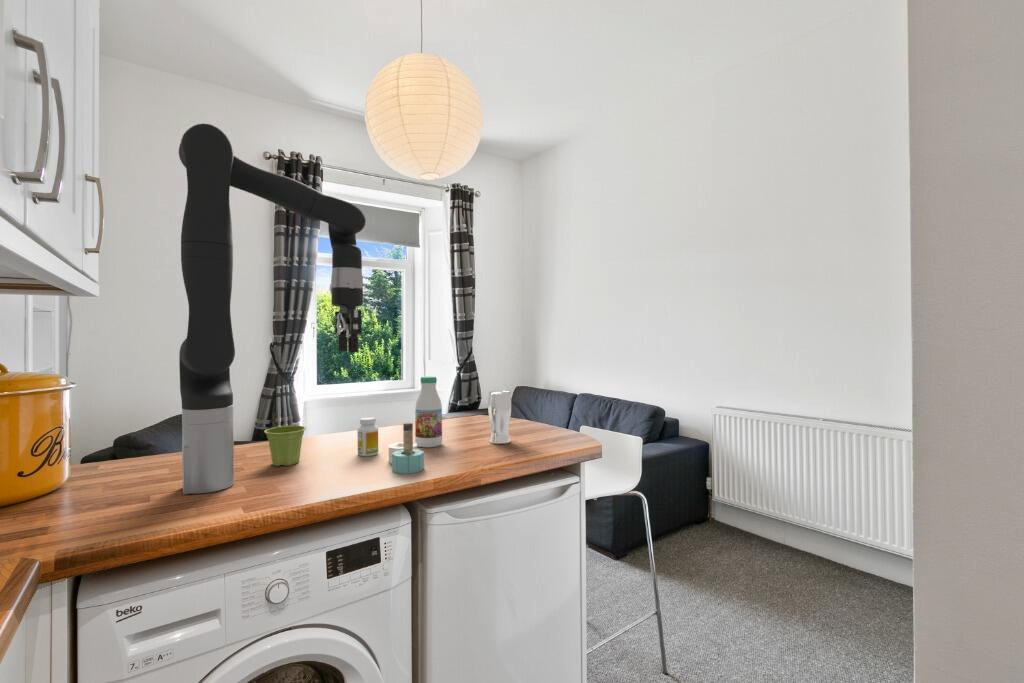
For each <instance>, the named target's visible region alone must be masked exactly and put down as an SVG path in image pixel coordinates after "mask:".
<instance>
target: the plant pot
mask: <svg viewBox="0 0 1024 683" xmlns="http://www.w3.org/2000/svg"><path fill="white" fill-rule="evenodd" d="M305 430H306V426H303V425H282V426H274V427H271V428H267V429H265V430H264V431H263V432H264V434H265V435H266V438H267V439H268V444H269V445H268V446H269V452H270V457H271V462H272V465H273V466H275V467H279V466H286V467H288V466H292V465H296V464H297V463H299V462H300V458H301V449H302V441H303V436H304V433H305Z"/></svg>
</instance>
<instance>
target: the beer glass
mask: <svg viewBox="0 0 1024 683" xmlns="http://www.w3.org/2000/svg"><path fill="white" fill-rule="evenodd" d="M487 403H488V404H487V405H488V406H487V409H488V410H487V411H488V418H489V424H490V437H489V443H490V444H492V445H507V444H510V442H511V438H510V433H509V432H510V430H509V429H510V428H509V427H510V420H511V414H512V395H511V391H506V390H494V391H493V390H492V391H489V392H488V402H487Z"/></svg>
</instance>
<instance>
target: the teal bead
mask: <svg viewBox="0 0 1024 683" xmlns="http://www.w3.org/2000/svg"><path fill="white" fill-rule="evenodd" d="M424 469H425V451H423V450H421V449H418V448H417V449H413V454H409V455H405V454H404V453H403V450H398V451H395V452H394V453H392V464H391V471H393V472H394V473H396V474H414V473H415V474H416V473H419V472H422V470H424Z"/></svg>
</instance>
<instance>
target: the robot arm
mask: <svg viewBox="0 0 1024 683" xmlns="http://www.w3.org/2000/svg"><path fill="white" fill-rule="evenodd" d="M178 147H179V148H178V157H179V160H180V162H181V164H182V165H183V166H184V168H185V170H186V181H187V183H186V184H187V193H186V195H187V196H186V201H185V207H184V212H183V217H182V224H181V235H180V262H181V264H180V265H181V272H182V273H181V274H182V279H183V284H184V289H185V293H186V297H187V298H186V299H187V304H188V320H187V321H188V322H187V332H186V333H187V334H186V338H185V339H184V340H183V341H182V343H181V344H180V348H179V353H178V354H179V356H178V358H179V359H178V360H179V361H178V362H179V364H178V365H179V390H180V391H179V393H180V399H181V425H182V426H181V429H182V430H181V432H182V434H181V436H182V437H181V438H182V439H181V440H182V442H181V446H182V447H181V452H182V453H181V455H182V457H181V458H182V459H181V461H182V462H181V463H182V465H181V466H182V494H183V495H189V494H191V495H192V494H207V493H213V492H217V491H219V492H220V491H222V490H225V489H228V488H231V487H232V486H233V485H234V483H235V458H234V457H235V455H234V453H235V452H234V445H235V444H234V441H235V440H234V394H233V391H232V385H231V373H230V371H231V370H230V368H231V366H232V364H233V362H234V361H235V360H234V359H235V356H236V348H235V340H234V334H233V333H234V332H233V326H232V317H231V314H232V313H231V303H232V302H231V301H232V287H233V271H234V269H233V267H234V250H233V249H234V248H233V247H234V243H233V241H234V240H233V227H232V225H233V223H232V212H231V204H230V191H231V190H230V188H231V187H232V188H235V189H238V190H241V191H244V192H245V193H248V194H250V195H253V196H257V197H259V198H262V199H264V200H266V201H268V202H271V203H273V204H275V205H277V206H280V207H281V208H283V209H286V210H289V211H290V212H292V213H295V214H296V215H299V216H301V217H304V218H305V219H308V220H310V221H314V222H315V221H318V222H320V221H321V222H324V223H326V224H328V226H327V228H328V230H327V231H328V237H329V240H330V241H329V242H330V246H331V250H332V255H331V257H332V258H331V259H332V261H331V262H332V264H331V265H332V266H331V267H332V269H331V278H330V280H331V284H330V285H331V288H330V291H331V294H330V295H331V297H330V298H331V305H332V306H333V307H339V309H338V310H335V311H334V334H335V335H336V336H337V350H338V351H339V352H347V351H348V353H358V351H359V337H360V335H362V333H363V332H362V309H358V307H359V308H360V307H363V305H364V278H363V271H362V270H363V269H362V268H363V267H362V266H363V265H362V264H363V260H362V258H363V256H362V249H361V248H360V247H359V246H357V238H356V234H358V233H359V232H361V231H362V230H364V229H365V226H366V222H367V220H366V217H365V214H364V213H363V211H362V210H361V208H359V207H358V206H357V205H355V204H353V203H350V202H349V201H346V200H343V199H339V198H337V197H334V196H331V195H327V194H325V193H322V192H320V191H319V190H316V189H314V188H313V187H311V186H309V185H306V184H304V183H303V182H301V181H298V180H296V179H294V178H291V177H288V176H285V175H283V174H277V173H274V172H271V171H268V170H265V169H261V168H259V167H257V166H254V165H253V164H249V163H248V162H245V161H244V160H242V159H240V158H239V157H237V156H235V155H234V148H233V147H234V146H233V145H232V143H231V141H230V138H229V137H228V136H227V134H226V133H225V132H223V131H222V130H221V129H220V128H219V127H217V126H215V125H212V124H210V123H197V124H195V125H193V126H190V127H189V128H188V129H187V130H186V131H184V134H182V137H181V139H180V143H179V146H178Z"/></svg>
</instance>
